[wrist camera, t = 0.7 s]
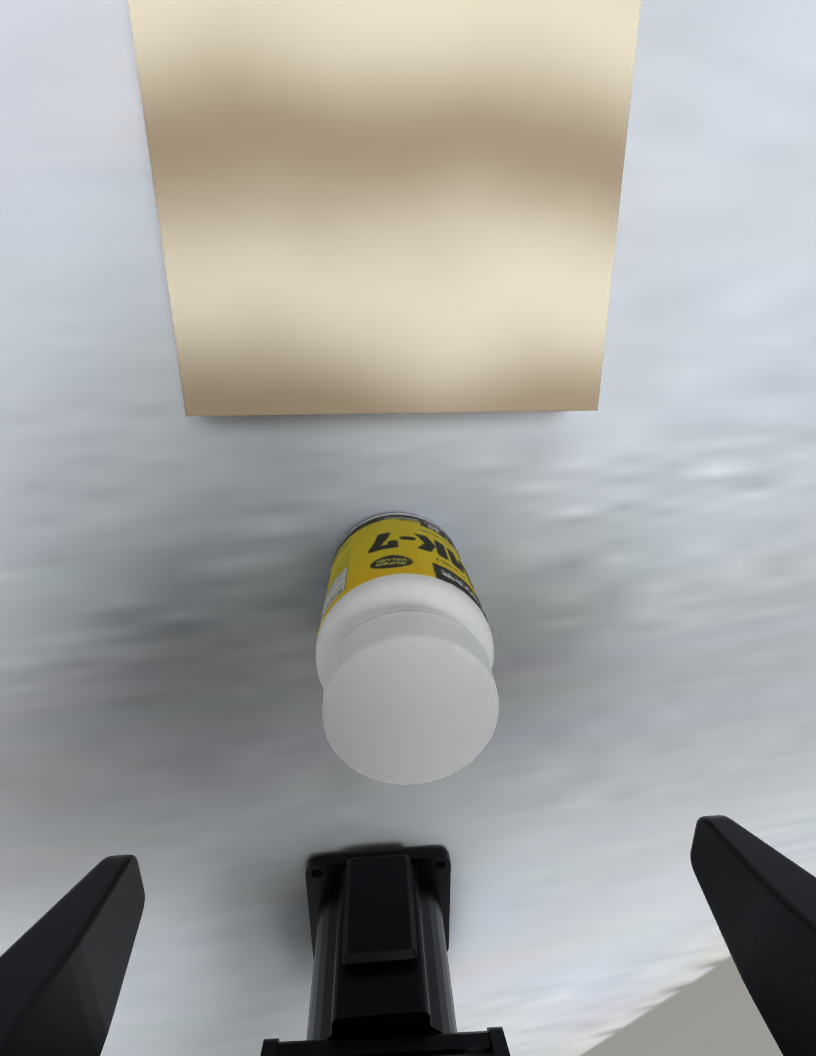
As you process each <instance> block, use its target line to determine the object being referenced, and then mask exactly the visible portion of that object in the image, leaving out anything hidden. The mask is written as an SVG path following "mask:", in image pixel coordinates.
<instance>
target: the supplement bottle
mask: <svg viewBox="0 0 816 1056" xmlns="http://www.w3.org/2000/svg"><path fill="white" fill-rule="evenodd" d="M493 660H494V645H493V638H492V633H491V629H490V626H489V624H488V621H487V618H486V615H485V613H484V611H483V609H482V607H481V604H480V602H479V600H478V598H477V596H476V593H475V591H474V588H473V586H472V584H471V582H470V579H469V577H468V574H467V572H466V570H465V567H464V565H463V563H462V561H461V559H460V556H459V554H458V552H457V550H456V548H455V546H454V544H453V542H452V541H451V539H450V538H449V537H448V535H447V534H446V533H445V532H444V531H443V530H442V529H441V528H440V527H439V526H437V525H436V524H434V523H433V522H431V521H429V520H427V519H425V518H423V517H420V516H417V515H413V514H408V513H386V514H380V515H376V516H374V517H371V518H369V519H367V520H365V521H363V522H361V523H360V524H358V525H357V526H356V527H354V528H353V529H352V530H351V531H350V532H349V533H348V534H347V535H346V537H345V538H344V539H343V540H342V542H341V544H340V545H339V547H338V549H337V551H336V554H335V557H334V560H333V565H332V570H331V575H330V579H329V584H328V588H327V593H326V598H325V602H324V607H323V612H322V616H321V621H320V626H319V631H318V635H317V642H316V667H317V672H318V676H319V679H320V682H321V685H322V687H323V689H324V693H323V704H322V720H323V726H324V730H325V734H326V737H327V739H328V741H329V743H330V745H331V747H332V748H333V750H334V751H335V753H336V754H337V755H338V756H339V758H340V759H341V760H342V761H343V762H344V763H345V764H347V765H348V766H349V767H350V768H352V769H353V770H354V771H356V772H358V773H360V774H361V775H363V776H365V777H367V778H370V779H372V780H375V781H379V782H383V783H387V784H394V785H419V784H425V783H430V782H434V781H437V780H440V779H443V778H446V777H448V776H450V775H453V774H455V773H457V772H458V771H460V770H461V769H463V768H465V767H466V766H467V765H469V764H470V763H471V762H472V761H473V760H475V759H476V758H477V757H478V756H479V755H480V753H481V752H482V751H483V750H484V749H485V747H486V746H487V744H488V743H489V741H490V740H491V738H492V736H493V734H494V731H495V729H496V725H497V721H498V716H499V698H498V691H497V687H496V684H495V681H494V677H493V673H492V667H493Z"/></svg>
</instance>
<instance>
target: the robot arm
mask: <svg viewBox="0 0 816 1056" xmlns="http://www.w3.org/2000/svg"><path fill="white" fill-rule="evenodd" d="M690 856H691V864H692V867H693V870H694V873H695V875H696V877H697V880H698V882H699V884H700V886H701V889H702V891H703V893H704V895H705V898H706V900H707V902H708V904H709V907H710V909H711V911H712V913H713V916H714V918H715V920H716V922H717V925H718V927H719V929H720V931H721V934H722V936H723V938H724V940H725V943H726V945H727V947H728V949H729V952H730V954H731V956H732V958H733V961H734V963H735V965H736V967H737V969H738V971H739V973H740V975H741V977H742V980H743V981H744V983H745V985H746V987H747V989H748V991H749V993H750V995H751V997H752V999H753V1001H754V1002H755V1004H756V1006H757V1008H758V1010H759V1012H760V1014H761V1015H762V1017H763V1019H764V1021H765V1023H766V1024H767V1026H768V1028H769V1030H770V1032H771V1034H772V1036H773V1037H774V1039H775V1041H776V1043H777V1045H778V1046H779V1048H780V1050H781V1052H782V1054H783V1056H816V877H814V876H813V875H811V874H810V873H808V872H807V871H806V870H804V869H803V868H801V867H800V866H798V865H797V864H795V863H794V862H792V861H791V860H790V859H788V858H787V857H785V856H784V855H782V854H781V853H779V852H778V851H776V850H775V849H774V848H772V847H771V846H769V845H768V844H766V843H765V842H763V841H762V840H760V839H759V838H758V837H756V836H755V835H753V834H752V833H750V832H749V831H747V830H746V829H744V828H743V827H742V826H740V825H739V824H737V823H736V822H734V821H733V820H731V819H730V818H728V817H726V816H722V815H717V816H703V817H700V818H699V819H698V821H697V823H696V828H695V833H694V838H693V843H692V848H691V853H690ZM450 874H451V863H450V856H449V853H448V852H447V851H446V850H444V849H425V850H410V851H395V852H380V853H365V854H350V855H335V856H320V857H313V858H311V859H310V860H309V861H308V862H307V868H306V883H307V893H308V904H309V915H310V925H311V936H312V947H313V957H314V966H313V977H312V987H311V998H310V1009H309V1019H308V1030H307V1040H306V1041H287V1042H279V1038H278V1039H264V1041H263V1046H262V1051H261V1056H510V1053H509V1049H508V1046H507V1042H506V1039H505V1035H504V1032H503V1029H502V1027H489V1028H487V1031H476V1032H457V1028H456V1020H455V1012H454V1004H453V996H452V988H451V981H450V973H449V965H448V957H447V951H448V949H449V913H450ZM144 901H145V893H144V887H143V883H142V878H141V874H140V869H139V865H138V861H137V858H136V857H135V856H134V855H117V856H109V857H106V858H105V859H103V860H102V861H101V862H100V863H99V864H98V865H96V866H95V867H94V868H93V869H92V870H91V871H90V872H89V873H88V874H87V875H86V876H85V877H84V878H83V879H82V880H81V881H80V882H79V883H78V884H76V885H75V886H74V887H73V888H72V889H71V890H70V891H69V892H68V893H67V894H66V895H65V896H64V897H63V898H62V899H61V900H60V901H59V902H57V903H56V904H55V905H54V906H53V907H52V908H51V909H50V910H49V911H48V912H47V913H46V914H45V915H44V916H43V917H42V918H41V919H40V920H39V921H37V922H36V923H35V924H34V925H33V926H32V927H31V928H30V929H29V930H28V931H27V932H26V933H25V934H24V935H23V936H22V937H21V938H20V939H18V940H17V941H16V942H15V943H14V944H13V945H12V946H11V947H10V948H9V949H8V950H7V951H6V952H5V953H4V954H3V955H2V956H1V957H0V1056H100V1054H101V1051H102V1049H103V1046H104V1043H105V1040H106V1037H107V1034H108V1031H109V1028H110V1025H111V1021H112V1018H113V1015H114V1011H115V1008H116V1004H117V1001H118V997H119V994H120V990H121V987H122V983H123V979H124V976H125V972H126V969H127V965H128V962H129V958H130V955H131V951H132V948H133V944H134V941H135V937H136V934H137V930H138V927H139V923H140V920H141V916H142V912H143V908H144Z"/></svg>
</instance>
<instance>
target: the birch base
mask: <svg viewBox="0 0 816 1056" xmlns="http://www.w3.org/2000/svg"><path fill="white" fill-rule="evenodd" d="M128 5H129V12H130V19H131V26H132V33H133V41H134V48H135V55H136V62H137V69H138V76H139V83H140V91H141V98H142V105H143V112H144V119H145V126H146V133H147V141H148V148H149V155H150V162H151V169H152V176H153V183H154V191H155V198H156V205H157V212H158V219H159V226H160V233H161V241H162V248H163V255H164V262H165V269H166V276H167V284H168V291H169V298H170V305H171V312H172V319H173V326H174V334H175V341H176V348H177V355H178V362H179V369H180V376H181V384H182V391H183V398H184V405H185V412H186V416H239V415H309V414H379V413H450V412H520V411H590V410H598V401H599V392H600V382H601V373H602V363H603V354H604V344H605V335H606V326H607V316H608V307H609V297H610V288H611V279H612V269H613V260H614V250H615V241H616V232H617V222H618V213H619V203H620V194H621V185H622V175H623V166H624V156H625V147H626V138H627V128H628V119H629V109H630V100H631V90H632V81H633V72H634V62H635V53H636V43H637V34H638V25H639V15H640V6H641V0H128Z"/></svg>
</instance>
